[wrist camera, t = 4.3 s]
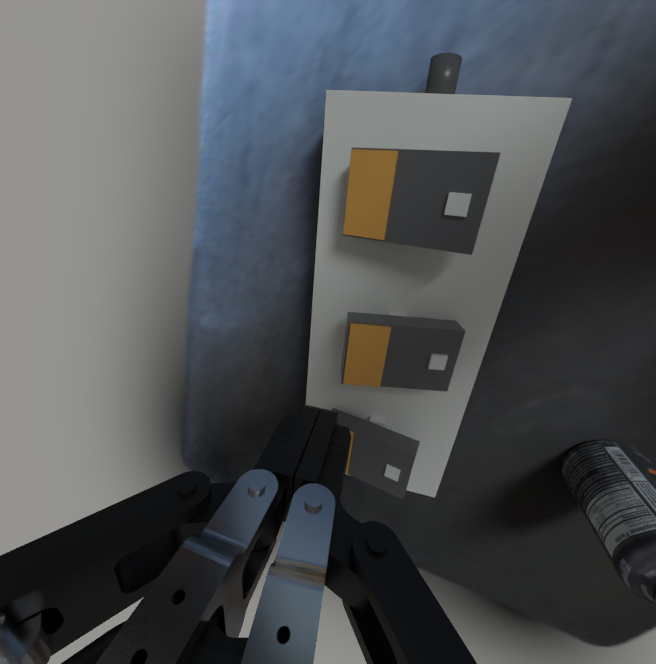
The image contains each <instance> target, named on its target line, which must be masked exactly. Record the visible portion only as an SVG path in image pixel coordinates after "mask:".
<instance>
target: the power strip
mask: <svg viewBox="0 0 656 664" xmlns="http://www.w3.org/2000/svg"><path fill="white" fill-rule="evenodd" d="M461 61H462V57H461V56H460V55H458V54H454V53H441V54H437V55H435V56H433V57H432V58H431V62H430V68H429V73H428V79H427V84H426V90H425V93H403V92H374V91H344V90H327V91H326V106H325V121H324V136H323V151H322V166H321V181H320V196H319V211H318V226H317V241H316V257H315V272H314V287H313V302H312V317H311V332H310V347H309V362H308V377H307V392H306V405H309V406H314V407H318V408H321V409H322V408H323V409H328V410H332V409H333V408H335V409H338V410H340V411H343V412H345V413H348V414H351V415H353V416H356V417H358V418H361V419H363V420H366V421H369V422H371V423H374V424H376V425H379V426H381V427H384V428H387V429H389V430H392V431H394V432H397V433H400V434H402V435H405V436H407V437H410V438H412V439H415V440H418V441H420V443H419V447H418V450H417V454H416V457H415V461H414V464H413V468H412V471H411V475H410V479H409V482H408V486H407V489H406V490H408V491H412V492H416V493H419V494H423V495H427V496H431V497H435V496H436V493H437V490H438V487H439V484H440V481H441V479H442V476H443V473H444V470H445V467H446V464H447V461H448V458H449V455H450V452H451V449H452V446H453V444H454V441H455V438H456V435H457V432H458V429H459V426H460V423H461V420H462V417H463V414H464V412H465V409H466V406H467V403H468V400H469V397H470V394H471V391H472V388H473V385H474V382H475V380H476V377H477V374H478V371H479V368H480V365H481V362H482V359H483V356H484V353H485V350H486V348H487V345H488V342H489V339H490V336H491V333H492V330H493V327H494V324H495V321H496V318H497V316H498V313H499V310H500V307H501V304H502V301H503V298H504V295H505V292H506V289H507V286H508V284H509V281H510V278H511V275H512V272H513V269H514V266H515V263H516V260H517V257H518V254H519V252H520V249H521V246H522V243H523V240H524V237H525V234H526V231H527V228H528V225H529V222H530V220H531V217H532V214H533V211H534V208H535V205H536V202H537V199H538V196H539V193H540V190H541V188H542V185H543V182H544V179H545V176H546V173H547V170H548V167H549V164H550V161H551V158H552V156H553V153H554V150H555V147H556V144H557V141H558V138H559V135H560V132H561V129H562V126H563V124H564V121H565V118H566V115H567V112H568V109H569V106H570V103H571V100H572V98H551V97H521V96H492V95H462V94H455V90H456V85H457V80H458V75H459V71H460V66H461ZM352 147H353V148H383V149H412V150H441V151H471V152H500V158H499V162H498V165H497V169H496V172H495V176H494V179H493V183H492V186H491V190H490V194H489V197H488V201H487V204H486V208H485V211H484V215H483V219H482V222H481V226H480V229H479V233H478V236H477V240H476V243H475V247H474V251H473V253H472V255H468V254H462V253H455V252H448V251H442V250H435V249H429V248H422V247H416V246H409V245H402V244H396V243H389V242H383V241H376V240H370V239H363V238H357V237H350V236H343V228H344V218H345V208H346V199H347V189H348V179H349V169H350V159H351V149H352ZM348 312H357V313H370V314H382V315H394V316H406V317H418V318H431V319H443V320H455V321H457V322H458V324H459V325H460V326H461V327H462V328H463V329H464V330H465V335H464V338H463V341H462V345H461V348H460V351H459V355H458V358H457V361H456V364H455V368H454V371H453V374H452V378H451V381H450V384H449V388H448V391H434V390H421V389H407V388H394V387H381V386H380V387H374V386H361V385H348V384H341V363H342V354H343V346H344V338H345V329H346V321H347V313H348ZM347 475H349V474H347ZM350 476H351V475H350Z"/></svg>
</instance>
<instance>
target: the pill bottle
mask: <svg viewBox="0 0 656 664" xmlns="http://www.w3.org/2000/svg"><path fill="white" fill-rule="evenodd" d="M562 475H563V477H564V479H565V481H566V483H567V484H568V486H569V488H570V490H571V492H572V494H573V496H574V497H575V499H576V501H577V502H578V504H579V506H580V508H581V510H582V511H583V513H584V515H585V517H586V519H587V520H588V522H589V524H590V526H591V527H592V529H593V531H594V533H595V534H596V536H597V538H598V540H599V541H600V543H601V545H602V547H603V548H604V550H605V552H606V553H607V555H608V557H609V559H610V561H611V562H612V564H613V566H614V567H615V569H616V571H617V573H618V575H619V576H620V578H621V579H622V581H623V582H624V583H625V585H626V586H627V587H628V588H629V589H630V590H631V591H633V592H634V593H635V594H636V595H638V596H639V597H641V598H643V599H644V600H646V601H648V602H650V603H652V604H655V605H656V468H655V467H654V466H653V465H652V464H651V462H650V461H649V460H648V459H647V458H646V457H645V456H644V455H643V454H642V453H641V452H640V451H639V450H637V449H635V448H634V447H632V446H630V445H628V444H625V443H622V442H618V441H612V440H600V441H593V442H588V443H585V444H582V445H580V446H578V447H576V448H574V449H573V450H572V451H570V452H569V453H568V454H567V456H566V457H565V458H564V460H563V462H562Z"/></svg>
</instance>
